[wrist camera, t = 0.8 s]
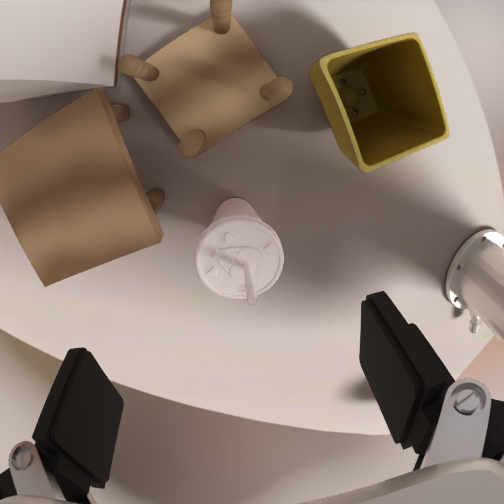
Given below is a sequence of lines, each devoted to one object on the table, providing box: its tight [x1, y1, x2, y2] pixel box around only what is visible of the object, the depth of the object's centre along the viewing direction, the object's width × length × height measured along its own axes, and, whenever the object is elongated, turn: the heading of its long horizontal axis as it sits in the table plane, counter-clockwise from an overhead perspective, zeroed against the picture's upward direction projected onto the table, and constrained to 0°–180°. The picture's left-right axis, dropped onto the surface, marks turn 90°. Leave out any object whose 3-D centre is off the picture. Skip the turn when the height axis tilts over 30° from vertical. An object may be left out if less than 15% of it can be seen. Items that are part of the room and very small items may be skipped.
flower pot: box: [309, 33, 450, 173], centre depth 22 cm, size 9×9×9 cm
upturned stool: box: [118, 0, 293, 159], centre depth 21 cm, size 10×10×9 cm
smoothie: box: [195, 198, 284, 305], centre depth 25 cm, size 6×6×14 cm
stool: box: [0, 88, 165, 287], centre depth 24 cm, size 12×12×9 cm
